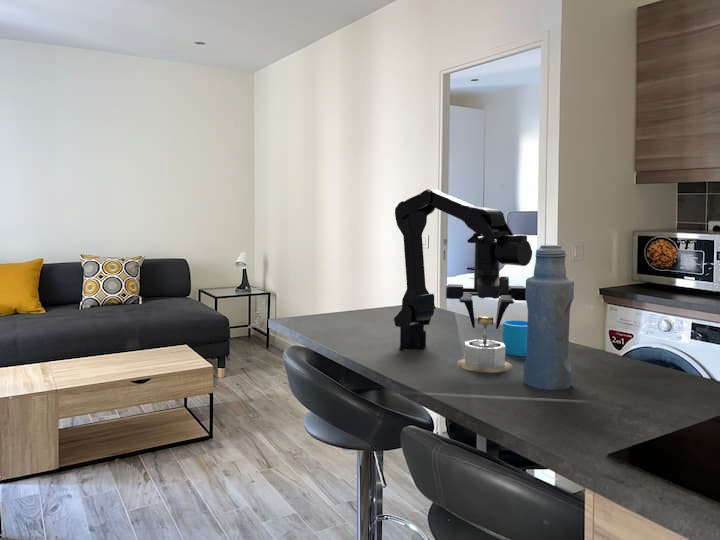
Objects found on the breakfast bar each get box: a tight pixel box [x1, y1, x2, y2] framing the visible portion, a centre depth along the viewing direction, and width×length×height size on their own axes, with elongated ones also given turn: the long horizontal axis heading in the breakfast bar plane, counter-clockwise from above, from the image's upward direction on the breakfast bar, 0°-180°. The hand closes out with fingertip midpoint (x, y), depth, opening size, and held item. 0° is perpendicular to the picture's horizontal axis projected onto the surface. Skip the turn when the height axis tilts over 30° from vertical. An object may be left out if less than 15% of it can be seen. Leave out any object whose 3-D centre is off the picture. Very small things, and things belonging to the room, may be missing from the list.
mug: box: [501, 319, 528, 357], centre depth 149 cm, size 12×8×8 cm
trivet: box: [456, 358, 513, 373], centre depth 134 cm, size 13×13×1 cm
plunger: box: [472, 315, 498, 348], centre depth 134 cm, size 6×6×7 cm
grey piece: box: [463, 338, 506, 370], centre depth 136 cm, size 9×12×5 cm
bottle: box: [522, 244, 575, 391], centre depth 119 cm, size 10×10×30 cm
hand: (485, 328), depth 134 cm, fingers open, 5 cm apart
